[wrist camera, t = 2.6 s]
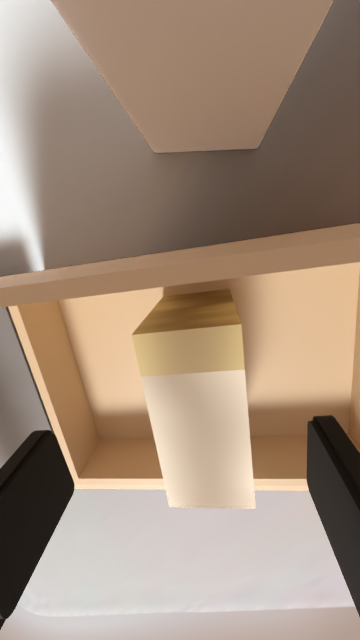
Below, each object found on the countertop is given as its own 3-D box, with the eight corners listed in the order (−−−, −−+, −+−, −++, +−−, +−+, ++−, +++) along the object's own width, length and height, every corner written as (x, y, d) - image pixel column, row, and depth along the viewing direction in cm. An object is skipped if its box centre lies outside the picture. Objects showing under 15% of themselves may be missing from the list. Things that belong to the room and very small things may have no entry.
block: (229, 288, 16) (241, 324, 10) (240, 415, 19) (255, 508, 13) (162, 296, 17) (131, 334, 10) (183, 417, 20) (169, 507, 13)
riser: (30, 277, 18) (-3, 285, 15) (84, 442, 22) (66, 471, 20) (-44, 288, 19) (-89, 297, 16) (21, 443, 24) (-5, 471, 21)
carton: (371, 219, 14) (976, 150, 3) (354, 441, 19) (562, 739, 8) (43, 268, 18) (-256, 324, 6) (97, 446, 22) (-19, 658, 11)
